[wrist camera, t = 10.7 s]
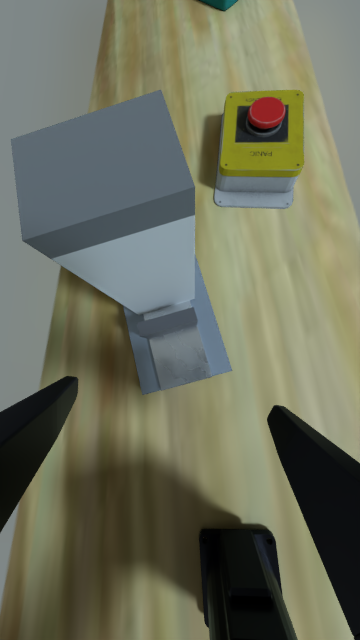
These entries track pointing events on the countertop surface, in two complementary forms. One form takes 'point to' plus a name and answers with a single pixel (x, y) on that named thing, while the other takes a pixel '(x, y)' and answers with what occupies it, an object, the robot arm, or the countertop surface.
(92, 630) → the countertop surface
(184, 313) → the end clamps
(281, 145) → the emergency button
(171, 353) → the steel rail
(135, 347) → the rail board
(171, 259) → the block
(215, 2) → the digital multimeter
